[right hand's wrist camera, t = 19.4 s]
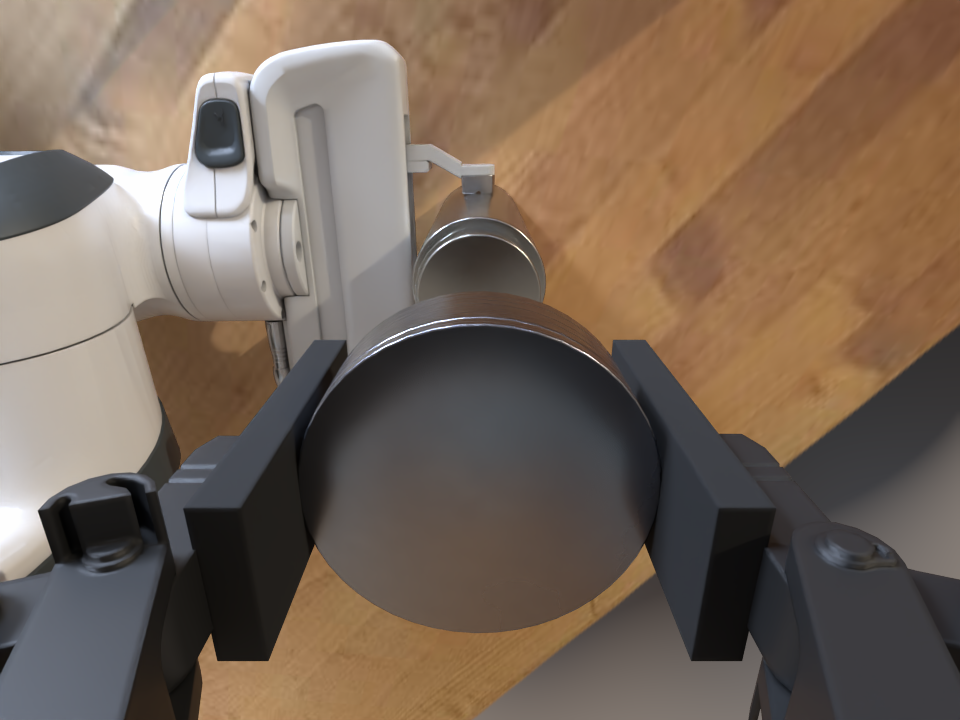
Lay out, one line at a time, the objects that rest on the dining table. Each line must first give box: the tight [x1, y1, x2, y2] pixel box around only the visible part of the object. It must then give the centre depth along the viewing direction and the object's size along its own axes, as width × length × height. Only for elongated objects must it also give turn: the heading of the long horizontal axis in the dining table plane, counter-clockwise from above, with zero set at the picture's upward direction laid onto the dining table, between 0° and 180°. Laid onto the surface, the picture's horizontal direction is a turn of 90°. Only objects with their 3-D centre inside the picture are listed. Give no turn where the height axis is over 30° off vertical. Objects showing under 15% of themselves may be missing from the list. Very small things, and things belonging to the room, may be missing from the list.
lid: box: [298, 291, 661, 633], centre depth 11 cm, size 6×6×2 cm
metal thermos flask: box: [412, 185, 546, 303], centre depth 31 cm, size 6×6×18 cm
